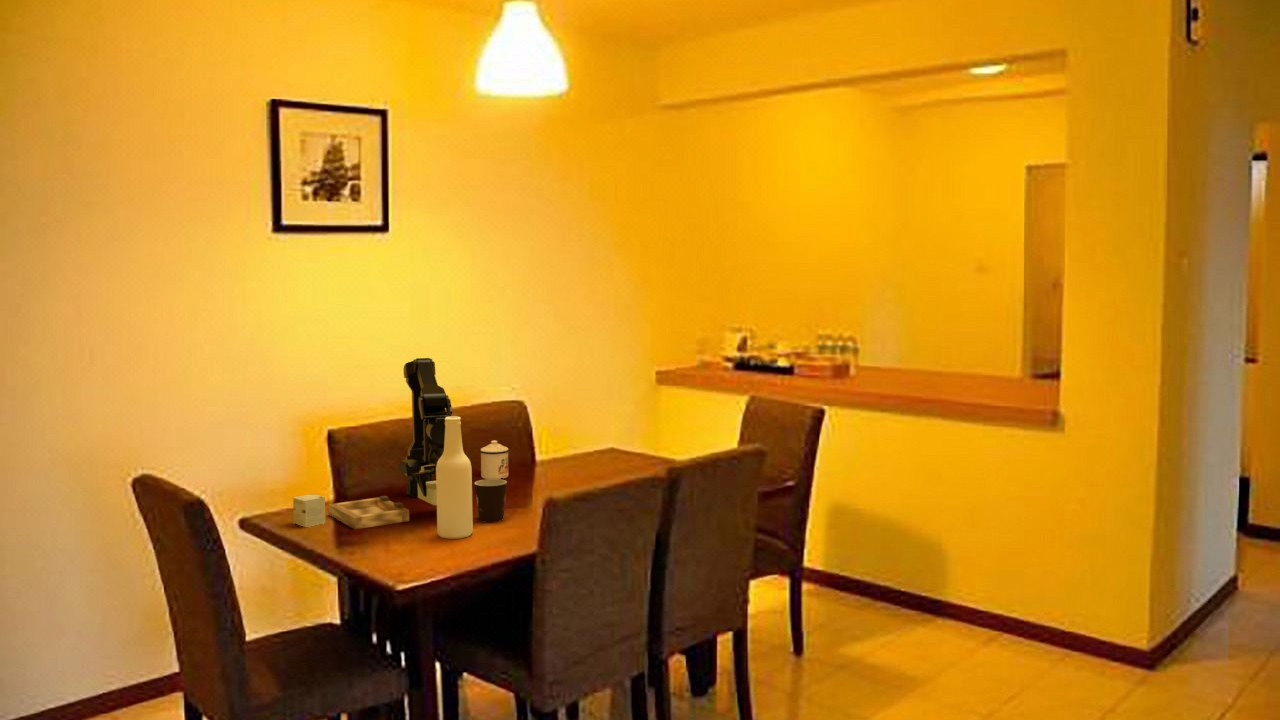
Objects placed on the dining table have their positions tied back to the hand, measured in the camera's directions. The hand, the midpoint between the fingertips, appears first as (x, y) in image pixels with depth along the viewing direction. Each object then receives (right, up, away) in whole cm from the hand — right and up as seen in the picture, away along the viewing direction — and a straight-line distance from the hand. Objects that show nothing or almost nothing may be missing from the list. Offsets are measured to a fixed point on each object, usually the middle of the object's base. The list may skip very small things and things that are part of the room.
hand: (435, 494), depth 290 cm
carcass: (-18, -6, -2) cm, 19 cm away
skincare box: (-32, -7, -8) cm, 33 cm away
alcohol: (+9, -8, -20) cm, 23 cm away
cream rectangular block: (0, -1, 0) cm, 1 cm away
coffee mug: (+16, -6, -3) cm, 17 cm away
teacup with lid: (+9, -1, +53) cm, 53 cm away
